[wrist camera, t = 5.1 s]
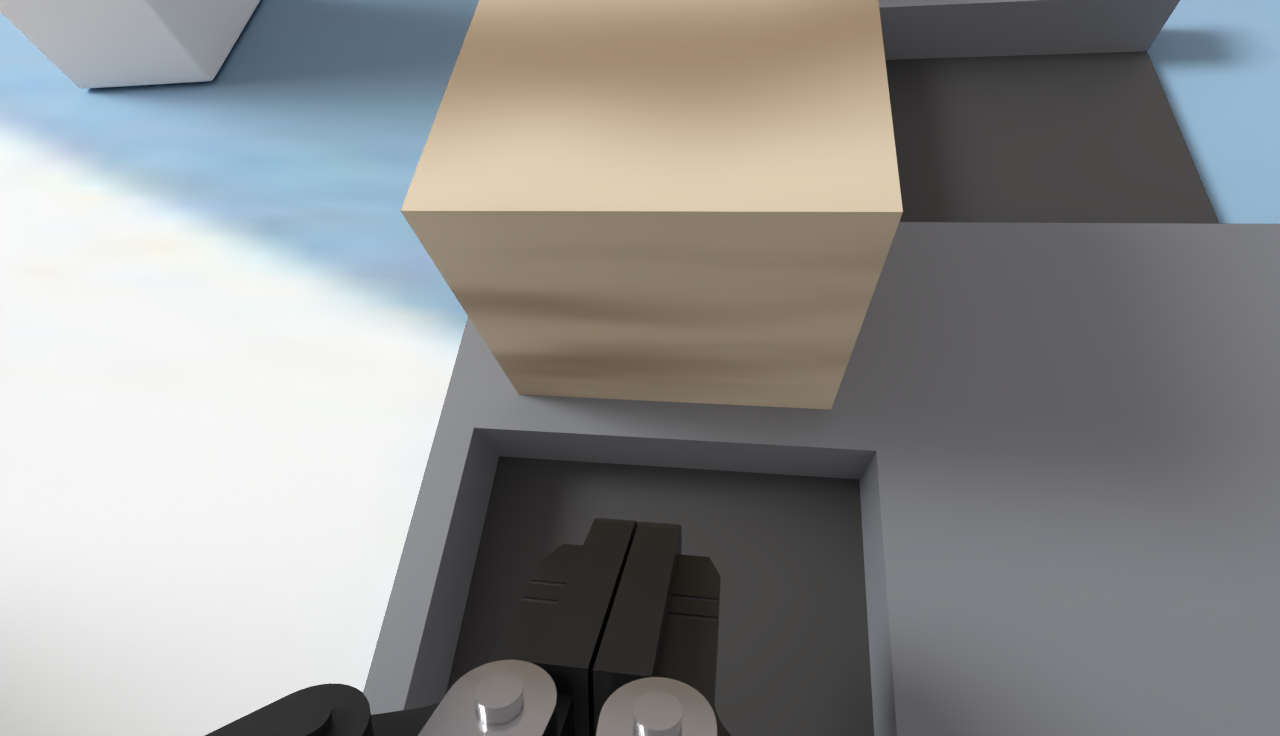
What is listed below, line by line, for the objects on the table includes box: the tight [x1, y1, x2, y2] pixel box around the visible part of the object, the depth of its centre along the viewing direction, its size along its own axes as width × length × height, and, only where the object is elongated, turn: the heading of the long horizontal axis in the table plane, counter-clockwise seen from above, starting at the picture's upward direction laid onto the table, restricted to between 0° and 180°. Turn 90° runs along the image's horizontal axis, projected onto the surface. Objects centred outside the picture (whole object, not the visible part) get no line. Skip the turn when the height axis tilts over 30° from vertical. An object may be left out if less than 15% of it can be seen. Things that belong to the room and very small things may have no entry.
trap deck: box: [363, 0, 1280, 736], centre depth 16 cm, size 28×22×6 cm
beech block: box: [401, 0, 903, 410], centre depth 15 cm, size 8×8×7 cm
